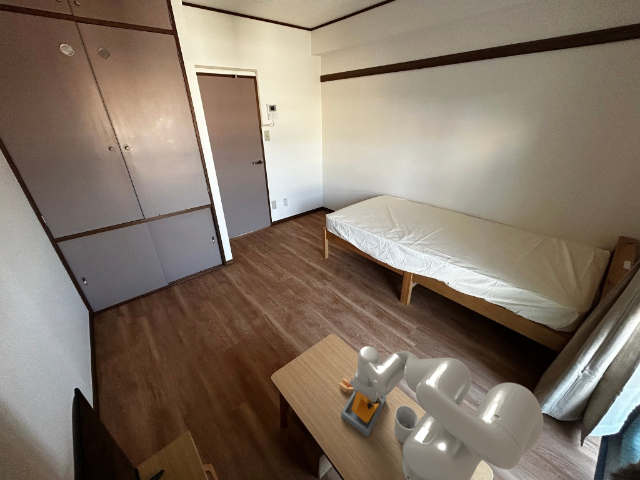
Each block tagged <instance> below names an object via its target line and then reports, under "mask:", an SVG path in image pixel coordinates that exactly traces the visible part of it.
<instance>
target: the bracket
mask: <svg viewBox="0 0 640 480" xmlns="http://www.w3.org/2000/svg"><path fill="white" fill-rule="evenodd" d="M368 403H369V399H368V398H367V397H365V396H364V395H362V394H361V393H359V392H358V391H357V393H356V396H355V399H354V402H353V406H352V411H353V412H354V413H355V414H356V415H357V416H358V417H359V418H361V419H362V420H363V421H364V422H365V423H368V422H369V420H370V419H371V418H372V416H373V414H374V413H375V411H376V410H377V408H378V406H379V404H378V403H377V404H374V405H373V407H370V409H368Z"/></svg>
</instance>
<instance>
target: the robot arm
mask: <svg viewBox="0 0 640 480" xmlns="http://www.w3.org/2000/svg"><path fill="white" fill-rule="evenodd" d="M357 357H358V358H357V368H356V369H357V370H356V372H355V374H354V377H353V379H350V380H349V381H350V382H349V383H350V384H351V385H352V386H353V389H354V390H355V391H356V392H355V393H357V391H358V392H359V393H361V394H362V395H364V396H365V397H367V398H368V399H369V403H368V409H370V407H373V405H374V404H377V403H378V404H381V405H382V404H383V400H382V398H381V396H380V394H381V395H385V396H388V395H389V394H390V393H391V392H392V391H393V389H394V388H395V387H397V385H398V384H399V383H400V382H401V381H402V380H403V379H404V378H405V382H406V384H407V386H408V388H409V389H411V390H412V391H413V392H414V393H415V397H416V399H417V401H418V403H419V405H420V406H421V408H422V409H423V410H424V411H425V413H424V414H423V415H422V417H421V418H420V419H419V422H418V423H417V425H416V426H415V428H414V429H413V431H412V432H411V434H410V435H409V436H408V438H407V439H406V440H405V442H404V443H402V452H401V453H402V458H401V469H402V470H401V471H402V473H403V476H404V479H405V480H471V479H472V477H473V476H474V474H475V471H476V469H477V467H478V466H479V464H480V463H482V461H485V462H487V463H489V464H490V465H492V466H494V467H496V468H499V469H500V470H501V469H502V470H512V469H514V468H515V467H517V465H518V464H519V462H520V461H521V458H522V457H523V455H525V454H526V453H528V452H529V451H530V450H531V449H532V448H533V447H535V445H536V444H537V442H538V441H539V439H540V437H541V435H542V433H543V429H544V416H543V410H542V408H541V404H540V403H539V401H538V399H537V397H536V396H535V395H534V394H533V393H532V391H531V390H529V389H528V388H527V387H525V386H523V385H521V384H519V383H515V382H502V383H499V384H496V385H495V386H493V387H492V388H491V389H490V390H488V391H487V393H486V395H485V396H484V398H483V399H482V401H481V402H480V404H479V405H478V407H477V409H476V410H475V412H474V413H470V412H469V411H467V410H466V409H465V408H463V407H462V406H460V405H461V404H462V402H463V401H464V399H465V398H466V396H467V394H468V393H469V391H470V389H471V386H472V373H471V372H470V369H469V368H468V366H467V365H466V364H465V363H464V362H463V361H461V360H460V359H457V358H453V357H433V358H419V357H418V356H417V355H416V354H414V353H412V352H411V351H408V350H402V351H396V352H393V353H391V354H389V355H388V356H387V357H386V358H385V359H384V360H383V361H382V362H381V354H380V351H378V349H377V348H376V347H374V346H371V345H365V346H364V347H362V348H360V350H359V352H358V356H357Z"/></svg>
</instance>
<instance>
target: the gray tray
mask: <svg viewBox="0 0 640 480" xmlns="http://www.w3.org/2000/svg"><path fill="white" fill-rule="evenodd" d="M355 392H356V391H355V390H354V392H353V394H351V396H350V397H349V399H348V401H347V402H346V404H345V405H344V407H343V408H342V411H341V412H340V414H341V415H340V417H341V418H342V419H343V420H345V421H346V422H348V423H349V424H350V425H351V426H353V427H354V428H355V429H357V431H359V432H360V433H361V434H363V435H364V436H365V437H367V438H369V436H370V434H371V432H372V430H373V427H374V426H375V424H376V422H377V419H378V417H379V415H380V413H381V411H382V409H383V406H384V405H385V403H386V399H387V395H381V394H380V396H381V398H382V400H383V404H382V405H381V404H379V406H378V408H377V410H376V411H375V413H374V414H373V416H372V418H371V419H370V420H369V422H368V423H365V422H364V421H363V420H362V419H361V418H359V417H358V416H357V415H356V414H355V413H354V412H353V411H352V406H353V402H354V399H355V396H356V393H355Z"/></svg>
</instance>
